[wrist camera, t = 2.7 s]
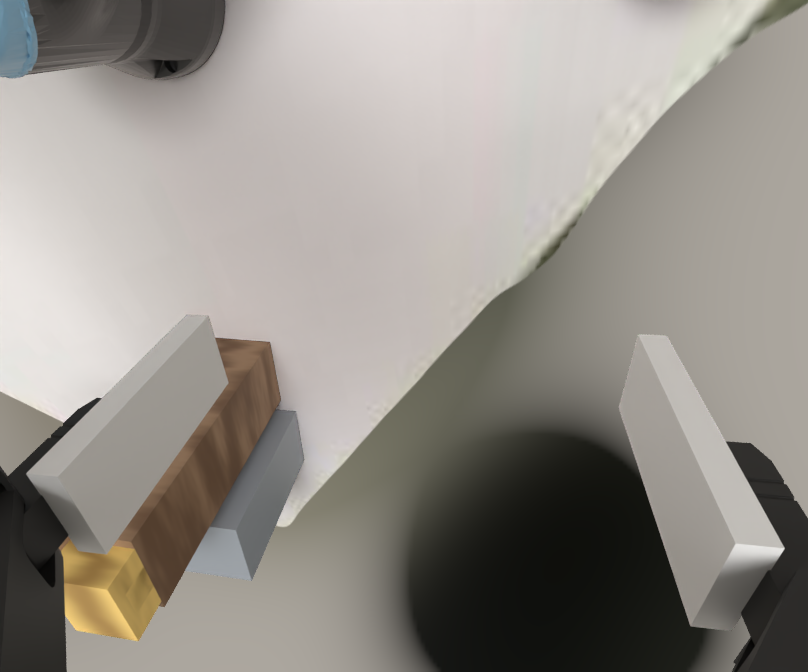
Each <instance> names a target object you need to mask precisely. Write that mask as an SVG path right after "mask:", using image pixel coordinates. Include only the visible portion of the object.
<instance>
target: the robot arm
mask: <svg viewBox="0 0 808 672" xmlns="http://www.w3.org/2000/svg"><path fill="white" fill-rule="evenodd" d="M224 9H225V1H224V0H0V77H7V78H19V77H23V76H24V75H28V74H36V73H43V72H50V71H58V70H65V69H73V68H80V67H88V66H95V65H103V64H105V65H108V66H110V67H113V68H115V69H118V70H120V71H123V72H125V73H128V74H131V75H133V76H137V77H140V78H145V79H155V80H161V79H169V78H175V77H180V76H184V75H187V74H189V73H191V72H193V71H195V70H196V69H198V68H199V67H200V66H202V65H203V64H204V63H205V62H206V61H207V59H208V58H209V57H210V55H211V54H212V53H213V51H214V49H215V47H216V45H217V43H218V40H219V38H220V35H221V31H222V27H223V21H224ZM228 383H229V382H228V379H227V376H226V373H225V369H224V366H223V363H222V359H221V356H220V353H219V349H218V346H217V343H216V339H215V336H214V333H213V329H212V326H211V323H210V319H209V316H200V315H186V316H185V317H184V318H183V319H182V320H181V321H180V322H179V323H178V324H177V325H176V326H175V327H174V328H173V329H172V330H171V331H170V332H169V333H168V334H167V335H166V336H165V337H164V338H163V339H162V340H161V341H160V342H159V343H158V344H157V345H156V346H155V347H154V348H153V349H152V350H151V351H150V352H148V353H147V354H146V355H145V356H144V357H143V358H142V359H141V360H140V361H139V362H138V363H137V364H136V365H135V366H134V367H133V368H132V369H131V370H130V371H129V372H128V373H127V374H126V375H125V376H124V377H123V378H122V379H121V380H120V381H119V382H118V383H117V384H116V385H115V386H114V387H113V388H112V389H111V390H110V391H109V392H108V393H107V394H106V395H105V396H104V397H103V398H96V399H94V400H93V401H91V402H90V403H88V404H86V405H85V406H83V407H81V408H80V409H78V410H77V411H76V412H75V413H74V414H73V415H72V416H71V417H69V418H68V419H67V420H66V421H65V422H64V423H63V426H62V427H59V428H58V429H57V430H56V431H55V432H54V433H53V434H52V435H51V438H48V439H47V440H46V441H45V442H43V443H42V444H41V445H40V446H39V447H38V448H37V449H36V450H35V451H34V452H33V453H32V454H31V455H30V456H29V457H28V458H27V459H26V460H25V461H23V462H22V463H21V465H19V466H18V467H17V468H16V469H15V470H14V471H13V472H12V473H11V474H10V475H9V476H7V475H6V473H5V472H4V471H3V470H2V468H1V467H0V672H67V670H66V636H65V635H66V633H65V597H64V561H63V556H62V553H61V551H60V549H59V547H60V545H61V544H62V543H63V542H64V541H65V539H66V538H67V537H69V538H70V539H71V541H72V542H73V544H74V545H75V547H76V548H77V550H78V551H82V552H90V553H98V554H107V553H108V552H109V551H110V549H111V548H112V546H113V545H114V544H115V542H116V541H117V539H118V538H119V536H120V535H121V534H122V532H123V531H124V529H125V528H126V527H127V525H128V524H129V522H130V521H131V520H132V518H133V517H134V515H135V514H136V513H137V511H138V510H139V508H140V507H141V506H142V504H143V503H144V501H145V500H146V498H147V497H148V496H149V494H150V493H151V491H152V490H153V489H154V487H155V486H156V484H157V483H158V482H159V480H160V479H161V477H162V476H163V475H164V473H165V472H166V470H167V469H168V468H169V466H170V465H171V463H172V462H173V460H174V459H175V458H176V456H177V455H178V453H179V452H180V451H181V449H182V448H183V446H184V445H185V444H186V442H187V441H188V439H189V438H190V437H191V435H192V434H193V432H194V431H195V430H196V428H197V427H198V425H199V424H200V422H201V421H202V420H203V418H204V417H205V415H206V414H207V413H208V411H209V410H210V408H211V407H212V406H213V404H214V403H215V401H216V400H217V399H218V397H219V396H220V394H221V393H222V392H223V390H224V389H225V387H226V386H227V384H228ZM619 410H620V413H621V416H622V419H623V422H624V425H625V428H626V431H627V435H628V438H629V441H630V443H631V446H632V450H633V453H634V456H635V459H636V462H637V464H638V468H639V471H640V474H641V477H642V480H643V483H644V486H645V489H646V492H647V495H648V498H649V501H650V504H651V507H652V510H653V513H654V516H655V520H656V523H657V526H658V528H659V532H660V535H661V538H662V541H663V544H664V547H665V550H666V553H667V556H668V559H669V562H670V565H671V568H672V571H673V574H674V577H675V580H676V583H677V586H678V589H679V592H680V595H681V598H682V601H683V605H684V607H685V610H686V613H687V617H688V620H689V623H690V626H695V627H702V628H710V629H719V630H727V631H732V630H733V628H734V626H735V625H736V623H737V622H738V620H739V619H740V617H741V616H742V617H743V619H744V622H745V624H746V626H747V629H748V631H749V633H750V636H751V637H750V639H749V640H748V642H747V643H746V645H745V646H744V647H743V649H742V650H741V652H740V653H739V655H738V656H737V657H736V659H735V660H734V663H735V666H734V668H733V671H732V672H808V518H807V516H806V515H805V513H804V512H803V510H802V509H801V507H800V505H799V504H798V502H797V501H794V496H793V494H792V493H791V491H790V490H789V488H788V486H787V485H786V484H784V480H783V479H782V477H781V475H780V474H779V472H778V471H777V469H776V467H775V466H774V464H773V463H772V461H771V460H770V459H768V458H767V457H766V456H765V455H764V454H763V453H762V452H760V451H759V450H758V449H757V448H756V447H754V446H753V445H752V444H751V443H739V442H726V441H725V440H724V438H723V436H722V435H721V432H720V431H719V429H718V428H717V425H716V423H715V422H714V420H713V418H712V416H711V414H710V413H709V411H708V409H707V407H706V406H705V404H704V402H703V400H702V398H701V396H700V395H699V393H698V391H697V389H696V387H695V386H694V384H693V382H692V380H691V378H690V377H689V375H688V373H687V371H686V369H685V367H684V366H683V364H682V362H681V360H680V358H679V357H678V355H677V353H676V351H675V349H674V348H673V346H672V344H671V342H670V341H669V339H668V337H667V336H666V335H643V334H642V335H641V334H638V337H637V341H636V344H635V348H634V352H633V356H632V359H631V363H630V367H629V371H628V375H627V378H626V382H625V386H624V390H623V394H622V397H621V401H620V405H619Z"/></svg>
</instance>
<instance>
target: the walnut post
mask: <svg viewBox="0 0 808 672" xmlns="http://www.w3.org/2000/svg"><path fill="white" fill-rule="evenodd" d="M215 339H216V343H217V346H218V349H219V353H220V356H221V359H222V363H223V366H224V369H225V373H226V376H227V379H228V382H229V383H228V384H227V386H226V387H225V389H224V390H223V392H222V393H221V394H220V396H219V397H218V399H217V400H216V401H215V403H214V404H213V406H212V407H211V408H210V410H209V411H208V413H207V414H206V415H205V417H204V418H203V420H202V421H201V422H200V424H199V425H198V427H197V428H196V430H195V431H194V432H193V434H192V435H191V437H190V438H189V439H188V441H187V442H186V444H185V445H184V446H183V448H182V449H181V451H180V452H179V453H178V455H177V456H176V458H175V459H174V460H173V462H172V463H171V465H170V466H169V468H168V469H167V470H166V472H165V473H164V475H163V476H162V477H161V479H160V480H159V482H158V483H157V484H156V486H155V487H154V489H153V490H152V491H151V493H150V494H149V496H148V497H147V498H146V500H145V501H144V503H143V504H142V506H141V507H140V508H139V510H138V511H137V513H136V514H135V515H134V517H133V518H132V520H131V521H130V522H129V524H128V525H127V527H126V528H125V529H124V531H123V532H122V534H121V535H120V536H119V538H118V539H117V541H116V542H115V544H114V545H113V546H117V547H124V548H131V549H135V551H136V553H137V554H138V556H139V558H140V560H141V562H142V564H143V566H144V568H145V570H146V572H147V574H148V576H149V578H150V580H151V582H152V584H153V586H154V588H155V590H156V591H157V593H158V595H159V597H160V599H161V603H160V605H159V606H161V607H165V605H166V603H167V602H168V600H169V598H170V596H171V595H172V593H173V591H174V589H175V587H176V586H177V584H178V582H179V580H180V579H181V577H182V575H183V573H184V571H185V570H186V568H187V566H188V564H189V563H190V561H191V559H192V557H193V555H194V554H195V552H196V550H197V548H198V546H199V545H200V543H201V541H202V539H203V538H204V536H205V534H206V532H207V530H208V529H209V527H210V525H211V523H212V522H213V520H214V518H215V516H216V514H217V513H218V511H219V509H220V507H221V506H222V504H223V502H224V500H225V498H226V497H227V495H228V493H229V491H230V489H231V488H232V486H233V484H234V482H235V481H236V479H237V477H238V475H239V473H240V472H241V470H242V468H243V466H244V465H245V463H246V461H247V459H248V457H249V456H250V454H251V452H252V450H253V449H254V447H255V445H256V443H257V441H258V440H259V438H260V436H261V434H262V432H263V431H264V429H265V427H266V425H267V424H268V422H269V420H270V418H271V416H272V415H273V413H274V411H275V409H276V408H277V406H278V404H279V402H280V400H281V398H280V393H279V388H278V382H277V377H276V372H275V367H274V362H273V356H272V351H271V346H270V342H260V341H248V340H235V339H223V338H215ZM70 540H71V539H70V538H69V537H67V538H66V539H65V541H64V542H63V543H62V544H61V545H60V547H59V549H60V551H61V550H62V549H63V548H64V547H65V546H66V544H67V543H68V542H69V541H70Z"/></svg>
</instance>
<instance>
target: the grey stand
mask: <svg viewBox="0 0 808 672" xmlns="http://www.w3.org/2000/svg"><path fill="white" fill-rule="evenodd" d="M303 461H304V456H303V450H302V444H301V439H300V433H299V427H298V421H297V415H296V412H294V411H284V410H275V411H274V413H273V415H272V416H271V418H270V420H269V422H268V424H267V425H266V427H265V429H264V431H263V432H262V434H261V436H260V438H259V440H258V441H257V443H256V445H255V447H254V449H253V450H252V452H251V454H250V456H249V457H248V459H247V461H246V463H245V465H244V466H243V468H242V470H241V472H240V473H239V475H238V477H237V479H236V481H235V482H234V484H233V486H232V488H231V489H230V491H229V493H228V495H227V497H226V498H225V500H224V502H223V504H222V506H221V507H220V509H219V511H218V513H217V514H216V516H215V518H214V520H213V522H212V523H211V525H210V527H209V529H208V530H207V532H206V534H205V536H204V538H203V539H202V541H201V543H200V545H199V546H198V548H197V550H196V552H195V554H194V555H193V557H192V559H191V561H190V563H189V564H188V566H187V568H186V570H185V571H190V572H196V573H203V574H210V575H216V576H223V577H230V578H236V579H243V580H251V581H252V579H253V577H254V574H255V572H256V570H257V568H258V565H259V563H260V561H261V558H262V556H263V553H264V551H265V549H266V547H267V544H268V542H269V539H270V537H271V535H272V532H273V531H274V528H275V526H276V524H277V521H278V519H279V517H280V514H281V512H282V510H283V507H284V505H285V503H286V500H287V498H288V496H289V493H290V491H291V489H292V487H293V484H294V482H295V480H296V477H297V475H298V473H299V470H300V468H301V466H302V463H303Z"/></svg>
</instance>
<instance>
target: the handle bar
mask: <svg viewBox="0 0 808 672" xmlns="http://www.w3.org/2000/svg"><path fill="white" fill-rule="evenodd" d="M61 553H62V556H63V561H64V597H65V616H66V617H67V618H68V620H69V621H70V623H71V624H72V625H73V627H74V628H75V629H76V630H77V631H83V632H88V633H94V634H100V635H106V636H111V637H117V638H123V639H129V640H135V641H139V639H140V638H141V636H142V634H143V633H144V631H145V629H146V627H147V626H148V624H149V622H150V620H151V619H152V617H153V615H154V613H155V612H156V610H157V608H158V606H159V605H160V603H161V599H160V597H159V595H158V593H157V591H156V590H155V588H154V586H153V584H152V582H151V580H150V578H149V576H148V574H147V572H146V570H145V568H144V566H143V564H142V562H141V560H140V558H139V556H138V554H137V553H136V551H135V549H131V548H124V547H117V546H112V548H111V549H110V551H109V552H108V553H107V554H98V553H90V552H82V551H78V550H77V548H76V547H75V545H74V544H73V542H72V541H71V540H70V541H69V542H68V543H67V544H66V546H65V547H64V548H63V549H62V550H61Z"/></svg>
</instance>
